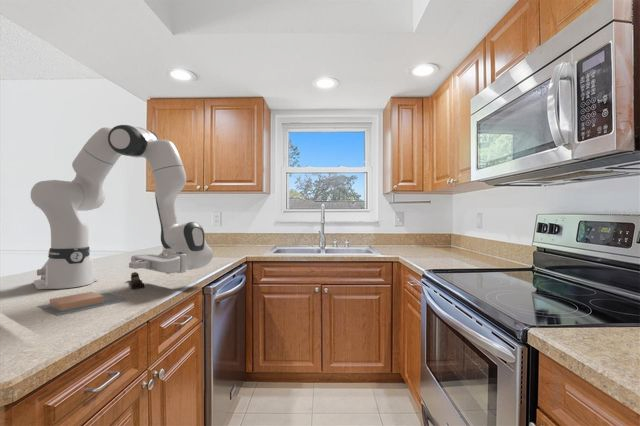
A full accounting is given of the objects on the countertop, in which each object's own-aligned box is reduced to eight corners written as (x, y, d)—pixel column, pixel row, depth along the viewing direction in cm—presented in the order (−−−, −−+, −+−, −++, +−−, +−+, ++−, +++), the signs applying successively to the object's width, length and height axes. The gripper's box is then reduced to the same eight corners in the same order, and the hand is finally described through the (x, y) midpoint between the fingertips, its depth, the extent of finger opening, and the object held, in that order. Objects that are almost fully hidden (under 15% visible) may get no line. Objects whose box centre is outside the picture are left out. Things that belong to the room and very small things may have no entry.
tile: (90, 298, 96) (49, 306, 88) (90, 291, 96) (49, 299, 88) (103, 303, 92) (61, 311, 84) (103, 295, 92) (61, 304, 84)
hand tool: (144, 293, 111) (144, 280, 111) (131, 294, 108) (131, 281, 108) (142, 282, 127) (142, 270, 127) (130, 283, 125) (130, 271, 125)
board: (37, 311, 88) (37, 306, 88) (108, 297, 103) (108, 292, 103) (57, 321, 80) (57, 316, 80) (130, 304, 96) (130, 300, 96)
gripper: (155, 249, 119) (115, 253, 107) (188, 254, 108) (148, 259, 96) (154, 266, 119) (114, 271, 107) (188, 273, 108) (148, 279, 96)
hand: (131, 265), depth 102 cm, fingers closed
